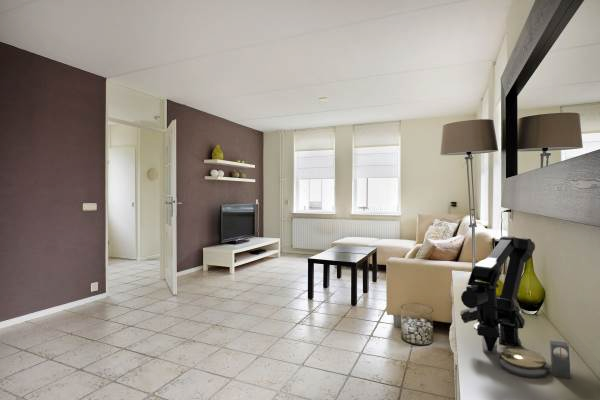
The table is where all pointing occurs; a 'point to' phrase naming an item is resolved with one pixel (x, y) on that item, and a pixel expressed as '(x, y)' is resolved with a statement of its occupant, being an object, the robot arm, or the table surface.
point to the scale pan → (523, 358)
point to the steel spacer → (487, 349)
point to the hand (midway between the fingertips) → (489, 348)
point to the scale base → (558, 364)
